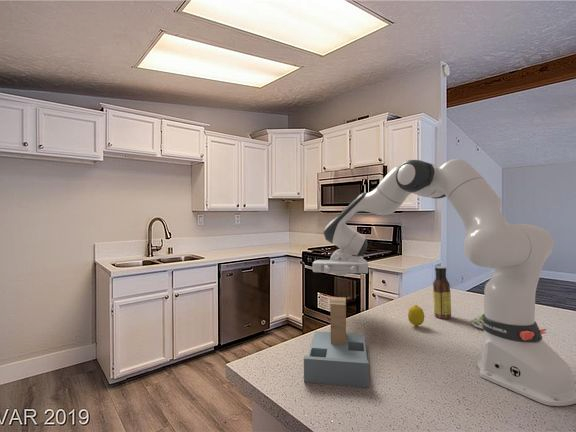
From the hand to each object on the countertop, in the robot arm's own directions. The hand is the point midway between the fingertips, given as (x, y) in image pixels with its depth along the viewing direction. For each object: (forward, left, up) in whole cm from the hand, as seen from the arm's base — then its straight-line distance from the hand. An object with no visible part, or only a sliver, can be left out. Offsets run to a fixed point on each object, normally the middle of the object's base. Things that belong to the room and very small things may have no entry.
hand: (339, 270), depth 114 cm
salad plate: (-15, -57, -23) cm, 63 cm away
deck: (-17, +10, -22) cm, 30 cm away
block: (-11, +6, -19) cm, 23 cm away
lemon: (-4, -29, -22) cm, 37 cm away
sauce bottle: (+1, -46, -22) cm, 51 cm away
